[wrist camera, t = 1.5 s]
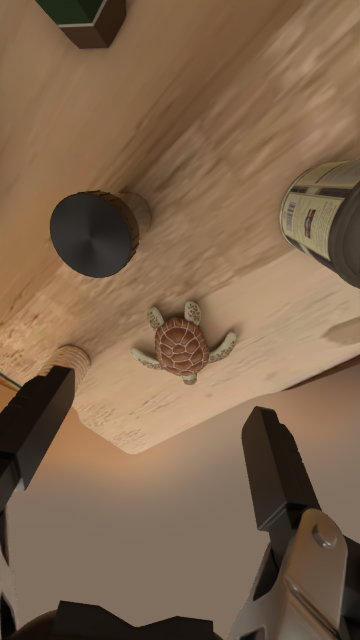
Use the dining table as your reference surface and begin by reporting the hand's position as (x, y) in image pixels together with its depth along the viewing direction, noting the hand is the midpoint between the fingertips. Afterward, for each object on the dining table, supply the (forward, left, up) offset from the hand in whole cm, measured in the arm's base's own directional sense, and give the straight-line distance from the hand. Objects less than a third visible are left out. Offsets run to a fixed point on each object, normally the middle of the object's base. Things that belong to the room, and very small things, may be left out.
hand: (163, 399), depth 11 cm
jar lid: (-5, -7, -16) cm, 18 cm away
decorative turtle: (+16, -2, -27) cm, 32 cm away
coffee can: (-4, +17, -27) cm, 32 cm away
